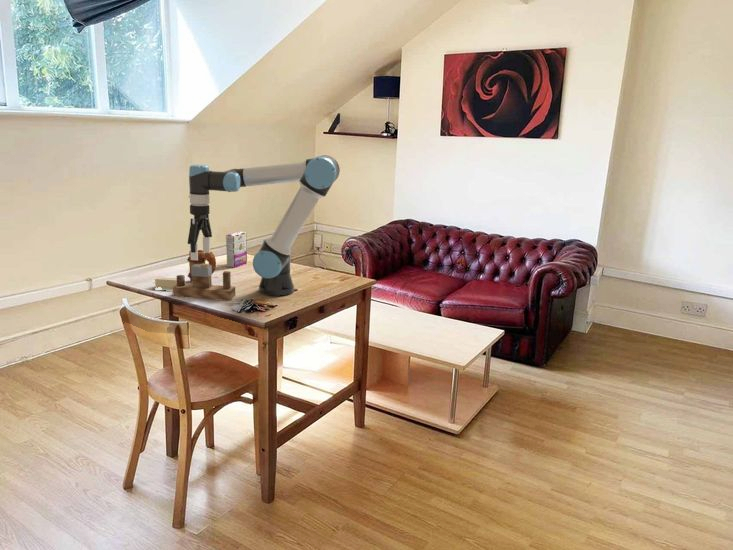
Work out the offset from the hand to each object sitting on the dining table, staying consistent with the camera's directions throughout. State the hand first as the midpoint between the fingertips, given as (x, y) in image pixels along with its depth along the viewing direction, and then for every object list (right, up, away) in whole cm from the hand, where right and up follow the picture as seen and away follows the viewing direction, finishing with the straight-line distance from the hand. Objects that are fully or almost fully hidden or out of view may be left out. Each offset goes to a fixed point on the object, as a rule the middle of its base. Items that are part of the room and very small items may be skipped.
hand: (200, 256), depth 232 cm
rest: (-18, -13, +13) cm, 26 cm away
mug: (-6, -11, +23) cm, 26 cm away
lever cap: (0, -8, +2) cm, 8 cm away
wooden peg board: (0, -16, +4) cm, 17 cm away
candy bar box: (+2, -3, +57) cm, 57 cm away
